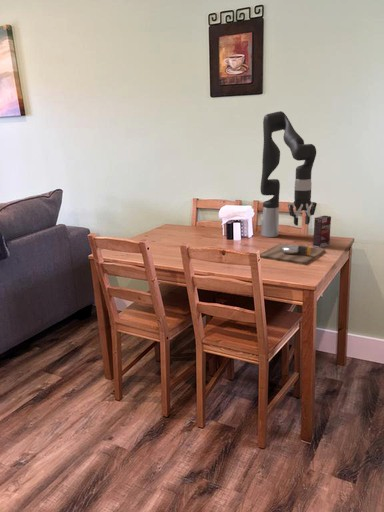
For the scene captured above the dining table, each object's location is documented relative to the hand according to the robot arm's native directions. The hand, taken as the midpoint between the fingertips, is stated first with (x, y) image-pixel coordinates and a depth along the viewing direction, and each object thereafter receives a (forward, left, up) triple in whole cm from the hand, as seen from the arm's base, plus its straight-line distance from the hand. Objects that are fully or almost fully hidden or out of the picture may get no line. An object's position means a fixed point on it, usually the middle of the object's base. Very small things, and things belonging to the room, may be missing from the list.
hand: (301, 224), depth 202 cm
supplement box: (0, +28, -18) cm, 33 cm away
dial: (-4, +5, -16) cm, 17 cm away
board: (-7, +6, -17) cm, 20 cm away
